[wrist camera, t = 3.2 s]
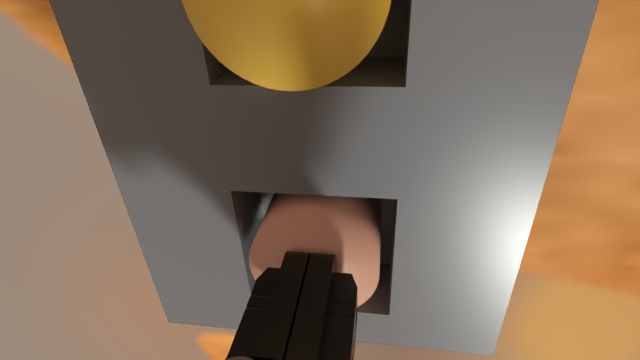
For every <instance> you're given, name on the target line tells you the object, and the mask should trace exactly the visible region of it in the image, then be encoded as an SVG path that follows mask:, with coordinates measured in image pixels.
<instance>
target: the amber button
mask: <svg viewBox="0 0 640 360" xmlns="http://www.w3.org/2000/svg"><path fill="white" fill-rule="evenodd" d="M182 3H183V6H184V8H185V11H186V13H187V16H188V18H189V20H190V22H191V24H192V26H193V28H194V30H195V32H196V33H197V35H198V36H199V38H200V39H201V41H202V42H203V44H204V45H205V46H206V47H207V49H208V50H209V51H210V52H211V54H212V55H214V56H215V57H216V58H217V59H218V60H219V61H220V62H221V63H222V64H223V65H224V66H225V67H227V68H228V69H229V70H231V71H232V72H233V73H235V74H237V75H238V76H240V77H241V78H243V79H245V80H247V81H250V82H252V83H254V84H256V85H259V86H262V87H265V88H270V89H275V90H281V91H304V90H309V89H315V88H318V87H321V86H324V85H327V84H329V83H331V82H333V81H336V80H338V79H339V78H341V77H342V76H344V75H345V74H347V73H349V72H350V71H351V70H352V69H353V68H355V67H356V66H357V65H358V64H359V63H360V62H361V61H362V60H363V59H364V58H365V56H366V55H367V54H368V53H369V52H370V50H371V49H372V47H373V46H374V44H375V43H376V41H377V39H378V37H379V35H380V33H381V31H382V30H383V27H384V24H385V22H386V19H387V16H388V13H389V9H390V4H391V0H182Z"/></svg>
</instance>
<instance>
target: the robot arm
mask: <svg viewBox="0 0 640 360" xmlns="http://www.w3.org/2000/svg"><path fill="white" fill-rule="evenodd" d="M357 293H358V287H357V285H356V283H355V280H354V278H353V275H352V274H351V273H338V272H337V265H336V254H322V253H307V252H293V251H286V253H285V255H284V258H283V261H282V264H281V267H280V268H272V267H268V268H267V269H266V270H265V271H264V272H263V273H262V274H261V275H260V276H259V277H258V278H257V279H256V282H255V284H254V287H253V290H252V292H251V297H250V298H249V300H248V303H247V306H246V309H245V311H244V314H243V316H242V319H241V322H240V324H239V327H238V330H237V332H236V335H235V338H234V340H233V343H232V346H231V348H230V351H229V353H228V356H227V358H226V359H225V360H354V351H355V342H356V330H357Z"/></svg>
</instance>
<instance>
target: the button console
mask: <svg viewBox="0 0 640 360" xmlns="http://www.w3.org/2000/svg"><path fill="white" fill-rule="evenodd" d="M49 1H50V3H51V6H52V9H53V11H54V14H55V17H56V20H57V22H58V25H59V28H60V30H61V33H62V36H63V38H64V41H65V44H66V47H67V49H68V52H69V55H70V57H71V60H72V63H73V65H74V68H75V71H76V74H77V76H78V79H79V82H80V84H81V87H82V90H83V92H84V95H85V98H86V100H87V103H88V106H89V109H90V111H91V114H92V117H93V119H94V122H95V125H96V127H97V130H98V133H99V136H100V138H101V141H102V144H103V146H104V149H105V152H106V154H107V157H108V160H109V163H110V165H111V168H112V171H113V173H114V176H115V178H116V181H117V184H118V187H119V189H120V192H121V195H122V197H123V200H124V203H125V206H126V208H127V211H128V214H129V217H130V219H131V222H132V225H133V227H134V229H135V232H136V235H137V238H138V241H139V244H140V246H141V249H142V252H143V254H144V257H145V260H146V262H147V265H148V268H149V271H150V273H151V276H152V278H153V281H154V284H155V287H156V289H157V292H158V295H159V298H160V300H161V303H162V306H163V308H164V311H165V314H166V316H167V319H168V322H172V323H180V324H191V325H200V326H210V327H219V328H230V329H238V327H239V324H240V322H241V319H242V316H243V314H244V311H245V309H246V306H247V303H248V300H249V298H250V297H251V292H252V290H253V287H254V284H255V282H256V280H255V279H254V277H253V275H252V272H251V269H250V266H249V252H250V248H251V246H252V243H253V241H254V239H255V236H256V234H257V232H258V229H259V227H260V225H261V222H262V220H263V218H264V215H265V213H266V211H267V208H268V206H269V203H270V201H271V199H272V197H273V194H274V193H284V194H303V195H323V196H343V197H363V198H375V199H376V200H377V202H378V204H379V207H380V210H381V217H382V224H381V248H380V273H379V282H378V285H377V288H376V289H375V291H374V293H373V294H372V296H371V297H370V298H369V299H368V300H367V301H366V302H365V303H363V304H362V305H360V306H358V307H357V330H356V342H365V343H375V344H386V345H394V346H404V347H414V348H423V349H433V350H443V351H452V352H463V353H473V354H483V355H491V356H493V353H494V350H495V347H496V343H497V340H498V337H499V333H500V330H501V327H502V323H503V320H504V317H505V313H506V310H507V307H508V303H509V300H510V296H511V293H512V290H513V287H514V283H515V280H516V277H517V273H518V270H519V267H520V263H521V260H522V257H523V253H524V250H525V246H526V243H527V240H528V236H529V233H530V230H531V226H532V223H533V220H534V216H535V213H536V210H537V206H538V203H539V200H540V196H541V193H542V190H543V186H544V183H545V180H546V176H547V173H548V170H549V166H550V163H551V160H552V156H553V153H554V150H555V146H556V143H557V140H558V136H559V133H560V130H561V126H562V123H563V120H564V116H565V113H566V109H567V106H568V103H569V99H570V96H571V93H572V89H573V86H574V83H575V79H576V76H577V73H578V69H579V66H580V63H581V59H582V56H583V53H584V49H585V46H586V43H587V39H588V36H589V33H590V29H591V26H592V23H593V19H594V16H595V13H596V9H597V6H598V3H599V0H391V4H390V9H389V13H388V16H387V19H386V22H385V24H384V27H383V30H382V31H381V33H380V35H379V37H378V39H377V41H376V43H375V44H374V46H373V47H372V49H371V50H370V52H369V53H368V54H367V55H366V56H365V58H364V59H363V60H362V61H361V62H360V63H359V64H358V65H357V66H356V67H355V68H353V69H352V70H351V71H350V72H349V73H347V74H345V75H344V76H342V77H341V78H339V79H338V80H336V81H333V82H331V83H329V84H327V85H324V86H321V87H318V88H315V89H309V90H304V91H281V90H275V89H270V88H265V87H262V86H259V85H256V84H254V83H252V82H250V81H247V80H245V79H243V78H241V77H240V76H238V75H237V74H235V73H233V72H232V71H231V70H229V69H228V68H227V67H225V66H224V65H223V64H222V63H221V62H220V61H219V60H218V59H217V58H216V57H215V56H214V55H212V54H211V52H210V51H209V50H208V49H207V47H206V46H205V45H204V44H203V42H202V41H201V39H200V38H199V36H198V35H197V33H196V32H195V30H194V28H193V26H192V24H191V22H190V20H189V18H188V16H187V13H186V11H185V8H184V6H183V3H182V0H49Z"/></svg>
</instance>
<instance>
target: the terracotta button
mask: <svg viewBox="0 0 640 360" xmlns="http://www.w3.org/2000/svg"><path fill="white" fill-rule="evenodd" d="M381 224H382V217H381V210H380V207H379V204H378V202H377V200H376V199H375V198H363V197H343V196H323V195H303V194H284V193H274V194H273V197H272V199H271V201H270V203H269V206H268V208H267V211H266V213H265V215H264V218H263V220H262V222H261V225H260V227H259V229H258V232H257V234H256V236H255V239H254V241H253V243H252V246H251V248H250V252H249V266H250V269H251V272H252V275H253V277H254V279H255V280H256V279H257V278H258V277H259V276H260V275H261V274H262V273H263V272H264V271H265V270H266V269H267V268H268V267H272V268H280V267H281V264H282V261H283V258H284V255H285V253H286V251H293V252H307V253H322V254H336V265H337V272H338V273H351V274H352V275H353V278H354V280H355V283H356V285H357V287H358V293H357V307H358V306H360V305H362V304H363V303H365V302H366V301H367V300H368V299H369V298H370V297H371V296H372V294H373V293H374V291H375V289H376V288H377V285H378V282H379V273H380V248H381Z"/></svg>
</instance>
